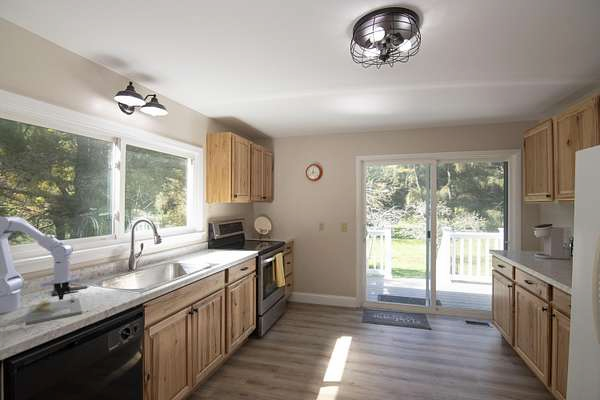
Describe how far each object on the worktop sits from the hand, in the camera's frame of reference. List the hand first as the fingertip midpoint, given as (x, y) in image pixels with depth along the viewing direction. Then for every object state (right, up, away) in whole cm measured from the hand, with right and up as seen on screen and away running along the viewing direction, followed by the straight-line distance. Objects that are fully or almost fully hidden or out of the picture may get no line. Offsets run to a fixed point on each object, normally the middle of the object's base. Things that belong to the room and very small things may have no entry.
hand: (60, 299), depth 130 cm
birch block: (-5, -3, -4) cm, 7 cm away
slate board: (0, -5, -2) cm, 6 cm away
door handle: (-18, -6, +26) cm, 32 cm away
